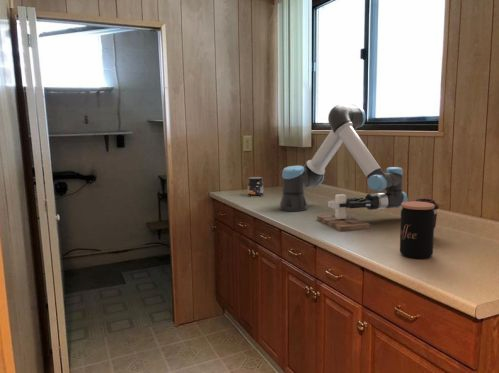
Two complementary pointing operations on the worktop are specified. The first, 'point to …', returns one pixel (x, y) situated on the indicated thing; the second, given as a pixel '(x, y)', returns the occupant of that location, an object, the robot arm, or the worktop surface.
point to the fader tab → (340, 212)
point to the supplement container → (255, 186)
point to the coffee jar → (417, 229)
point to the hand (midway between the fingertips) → (330, 204)
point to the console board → (343, 223)
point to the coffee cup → (433, 209)
